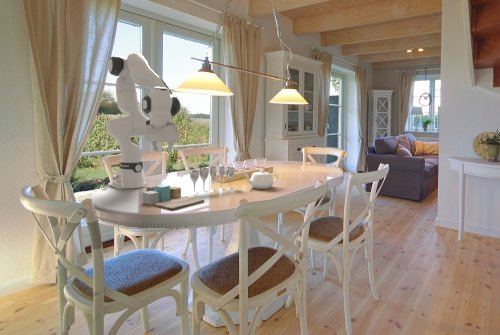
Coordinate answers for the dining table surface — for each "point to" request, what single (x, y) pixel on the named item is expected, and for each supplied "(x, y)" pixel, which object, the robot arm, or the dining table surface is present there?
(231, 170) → the goblet set
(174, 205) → the walnut board
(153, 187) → the charcoal cylinder
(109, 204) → the dining table surface
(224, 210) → the dining table surface
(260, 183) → the teapot
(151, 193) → the grey block
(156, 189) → the teal block
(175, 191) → the oak block
